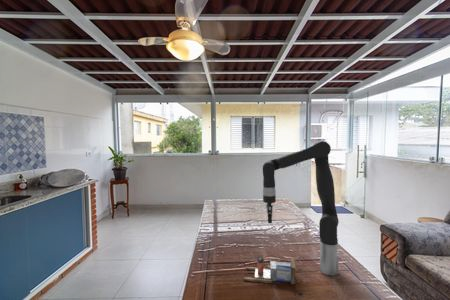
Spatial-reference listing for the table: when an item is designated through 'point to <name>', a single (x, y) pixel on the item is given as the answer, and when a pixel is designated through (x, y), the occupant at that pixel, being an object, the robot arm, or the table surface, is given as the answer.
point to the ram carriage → (265, 273)
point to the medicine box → (283, 271)
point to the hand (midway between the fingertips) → (269, 220)
